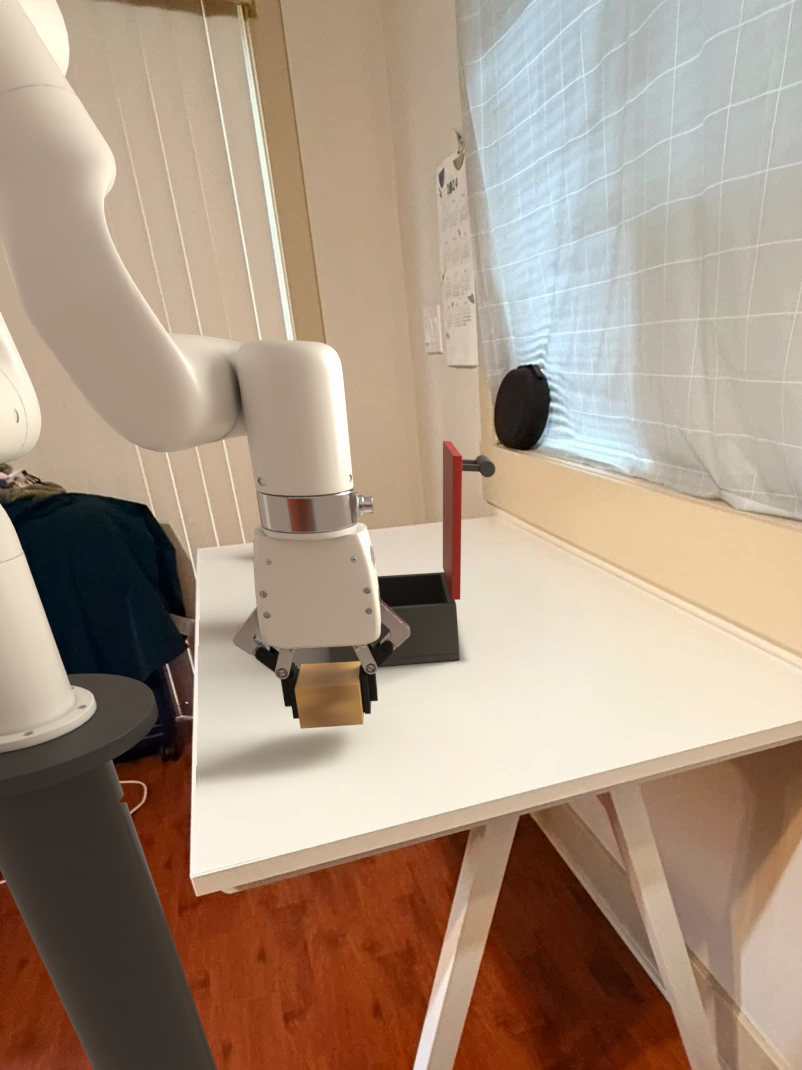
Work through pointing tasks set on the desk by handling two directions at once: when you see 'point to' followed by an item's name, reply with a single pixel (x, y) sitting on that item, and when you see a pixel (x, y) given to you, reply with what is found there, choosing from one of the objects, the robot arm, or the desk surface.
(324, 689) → the wooden block
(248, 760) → the desk surface
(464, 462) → the lid
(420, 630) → the dark tray bin
